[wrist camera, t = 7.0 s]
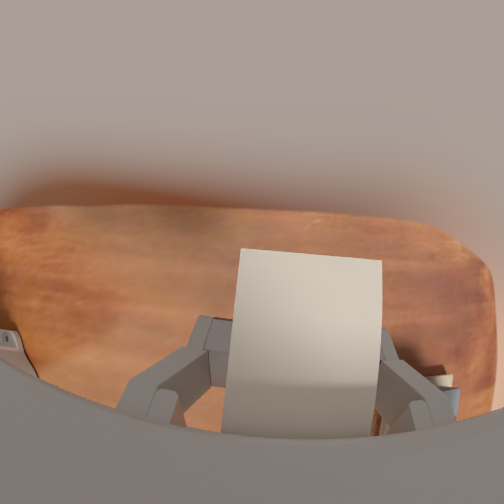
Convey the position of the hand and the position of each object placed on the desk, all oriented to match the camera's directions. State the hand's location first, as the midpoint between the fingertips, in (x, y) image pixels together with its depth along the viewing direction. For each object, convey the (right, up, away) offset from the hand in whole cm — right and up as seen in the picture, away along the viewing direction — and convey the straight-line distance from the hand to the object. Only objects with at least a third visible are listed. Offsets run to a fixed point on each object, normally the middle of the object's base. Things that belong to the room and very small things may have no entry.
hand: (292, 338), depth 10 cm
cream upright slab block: (0, -2, +4) cm, 4 cm away
